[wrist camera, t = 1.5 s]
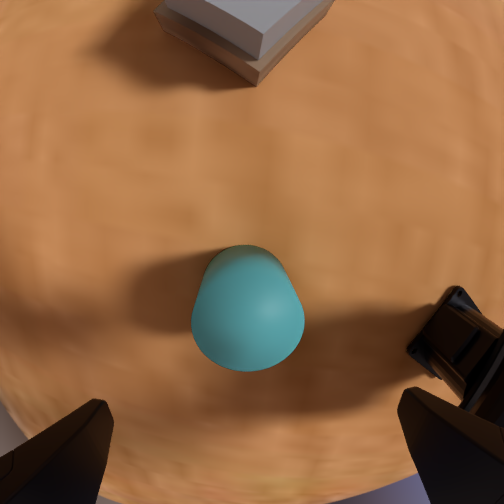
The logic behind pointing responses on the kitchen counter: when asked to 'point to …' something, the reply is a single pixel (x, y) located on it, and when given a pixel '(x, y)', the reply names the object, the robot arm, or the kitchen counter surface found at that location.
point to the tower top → (246, 19)
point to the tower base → (231, 53)
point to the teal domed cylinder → (246, 310)
